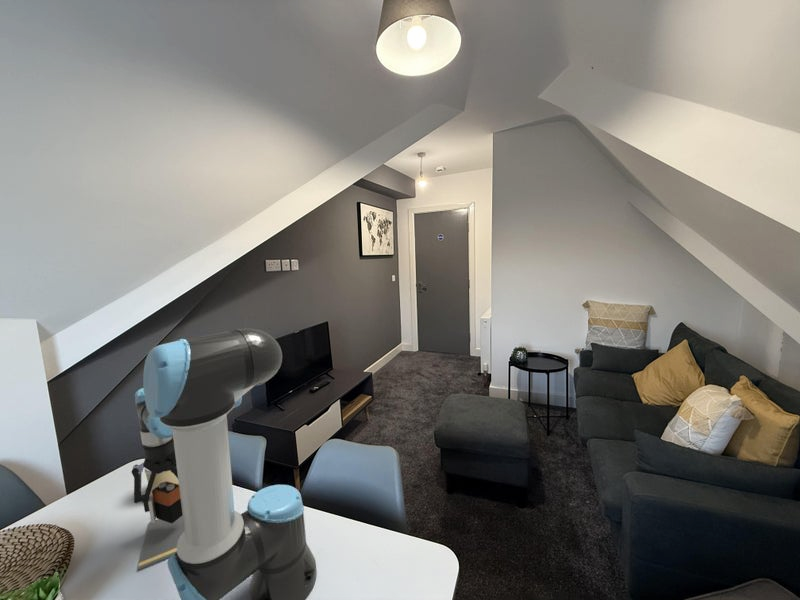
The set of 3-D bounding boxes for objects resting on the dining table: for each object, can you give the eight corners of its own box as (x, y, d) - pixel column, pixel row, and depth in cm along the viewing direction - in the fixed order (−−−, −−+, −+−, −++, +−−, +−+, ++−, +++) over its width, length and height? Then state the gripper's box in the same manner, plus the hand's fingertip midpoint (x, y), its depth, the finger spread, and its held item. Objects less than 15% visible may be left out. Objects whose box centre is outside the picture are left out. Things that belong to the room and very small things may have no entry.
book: (201, 545, 90) (200, 543, 90) (137, 571, 83) (137, 569, 83) (202, 504, 105) (202, 502, 105) (149, 523, 99) (149, 522, 98)
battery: (171, 524, 90) (166, 492, 89) (155, 519, 93) (150, 487, 91) (186, 513, 95) (182, 481, 93) (170, 507, 97) (165, 477, 96)
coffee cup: (189, 486, 115) (184, 454, 113) (166, 505, 106) (160, 472, 104) (167, 484, 117) (162, 453, 115) (142, 503, 108) (136, 470, 106)
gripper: (201, 423, 99) (210, 491, 102) (116, 445, 89) (129, 520, 92) (200, 434, 92) (210, 507, 95) (108, 459, 82) (123, 539, 85)
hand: (170, 513), depth 94 cm, fingers closed on battery, 7 cm apart
